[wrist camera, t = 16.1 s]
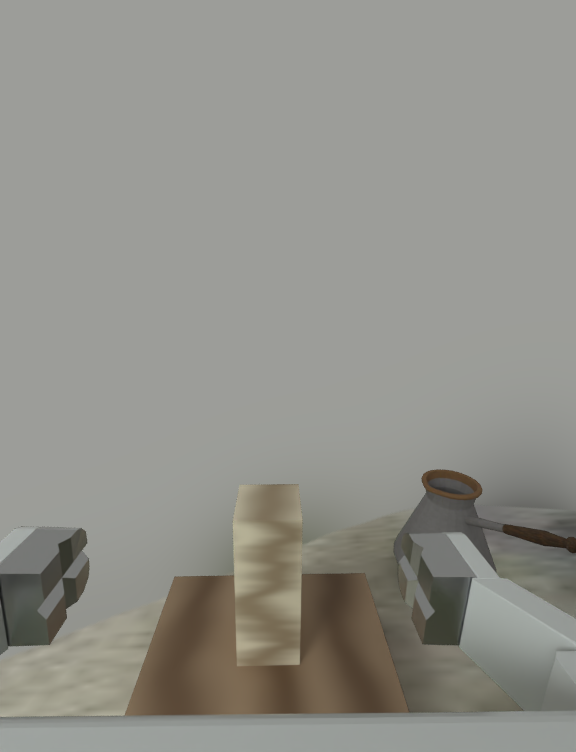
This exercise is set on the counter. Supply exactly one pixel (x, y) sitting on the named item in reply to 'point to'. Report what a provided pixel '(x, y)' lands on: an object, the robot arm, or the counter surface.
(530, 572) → the counter surface
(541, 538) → the coffee pot
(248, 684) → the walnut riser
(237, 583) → the birch block
